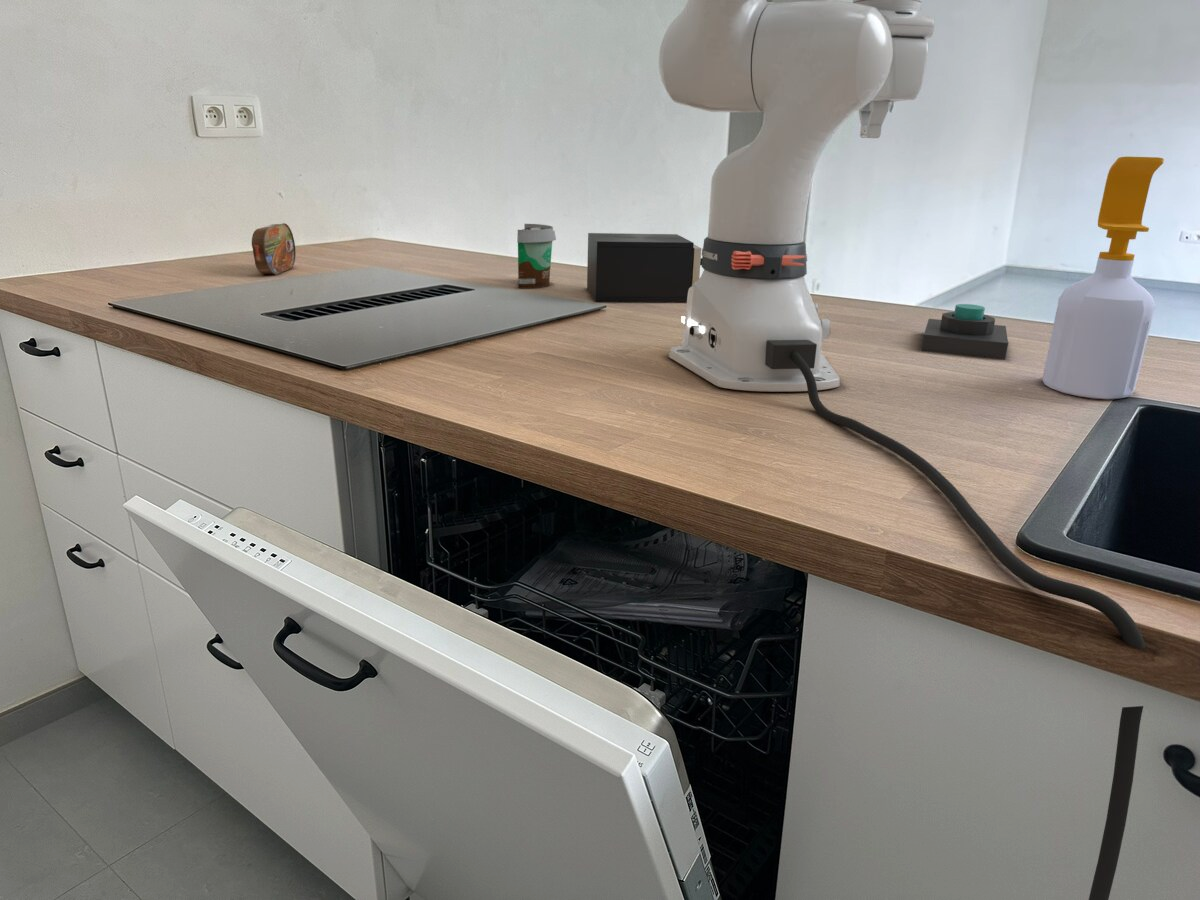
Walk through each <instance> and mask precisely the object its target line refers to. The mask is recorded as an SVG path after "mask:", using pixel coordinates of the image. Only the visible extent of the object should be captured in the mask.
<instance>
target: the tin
mask: <svg viewBox="0 0 1200 900" xmlns="http://www.w3.org/2000/svg"><path fill="white" fill-rule="evenodd" d="M251 248H252V254H253V258H254V265H255V267H256V269H257V271H258V272H259V274H262V275H276V276H277V275H279V274H281V273H284V272H286V271H288V270H291V269H292V268H293V267H294V266H295V262H296V257H297V256H296V242H295V238H294V234H293V231H292V229H291V228H290V225H289V224H288V223H285V222H283V223H275V224H269V225H267V226H266V225H265V226H263V227H260V228H257V229H255V230H254V231H253V234H252V237H251Z"/></svg>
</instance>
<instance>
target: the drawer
mask: <svg viewBox="0 0 1200 900" xmlns="http://www.w3.org/2000/svg"><path fill="white" fill-rule="evenodd" d="M701 266H702V248H701V247H699V246H698V245H697V244H694V246H693V262H692V278H691V287H692V285H693V284H695V283H696V282H697V281H698V280H699V278H700V277H701V276H700V275H701Z"/></svg>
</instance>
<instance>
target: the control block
mask: <svg viewBox="0 0 1200 900" xmlns="http://www.w3.org/2000/svg"><path fill="white" fill-rule="evenodd" d="M954 312H955V311H948V312H942V314H941V318H940V319H937V318H928V320H927V324H926V327H925V329H924V333H923V336H922V337H923V338H922V344H921V351H922V352H930V353H939V354H948V355H957V356H966V357H976V358H986V359H993V360H1004V361H1005V360H1006V357H1007V353H1008V347H1009V339H1008V331H1007V326H1006V325H999V324H996V318H995V317H993V316H990V315H987V314H984V316H983V320H969V319H961V318H956V317H954Z"/></svg>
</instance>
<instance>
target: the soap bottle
mask: <svg viewBox="0 0 1200 900" xmlns="http://www.w3.org/2000/svg"><path fill="white" fill-rule="evenodd" d="M1164 162H1165V160H1164V158H1163V157H1160V156H1159V157H1155V156H1121V157H1117V159H1116V160H1115V161H1114V162H1113V164H1112V165H1111V166H1110V168H1109V169H1108V173H1107V176H1106V179H1105V185H1104V190H1103V194H1102V199H1101V203H1100V208H1099V213H1098V216H1097V217H1098V218H1097V227H1098V228H1100V229H1102V230H1106V236H1105V238H1107V239H1110V244H1109V248H1108V251H1100V252H1099V254H1098V257H1097V261H1096V266H1095V270H1094V272H1093V273H1092V274H1091V275H1089V276H1087V277H1085V278H1083V279H1081V280H1079V281H1076V282H1074V283H1073V284H1071V285H1069V286H1068V287H1066V288H1064V290H1063V291H1062V292H1061V295H1060V296H1059V297H1058V301H1057V306H1056V311H1055V316H1054V321H1053V324H1052V330H1051V335H1050V340H1049V344H1048V349H1047V353H1046V358H1045V359H1046V360H1045V364H1044V367H1043V373H1042V382H1043V384H1044V386H1046V387H1048V388H1050V389H1051V390H1053V391H1057V392H1060V393H1062V394H1065V395H1070V396H1075V397H1078V398H1079V397H1080V398H1086V399H1093V400H1094V399H1095V400H1119V399H1120V400H1121V399H1126V398H1129V397H1131V396H1132V395H1133V394H1134V393H1135V391H1136V387H1137V383H1138V379H1139V375H1140V371H1141V366H1142V362H1143V359H1144V354H1145V351H1146V348H1147V347H1146V346H1147V342H1148V338H1149V334H1150V330H1151V327H1152V322H1153V318H1154V314H1155V311H1156V310H1155V309H1156V304H1155V299H1154V297H1153V296H1152V294H1151V293H1150V292H1149V291H1148V290H1147V289H1146V288H1145V287H1144V286H1143V285H1141V284H1139V283H1138V282H1137V281H1136V280H1135V279H1134V278H1133V277H1132V270H1133V267H1134V263H1135V256H1136V255H1135V254H1133V253H1129V252H1127V251H1128V248H1129V243H1130V240H1136V239H1137V234H1138V233H1139V232H1140V233H1148V232H1149V231H1150V227H1148V226H1145V225H1143V216H1144V211H1145V207H1146V203H1147V199H1148V195H1149V190H1150V186H1151V182H1152V178H1153V177H1154V174H1155V173H1156V171H1157V170H1158V169H1159V168H1160V167H1161V166H1162V165H1163V164H1164Z"/></svg>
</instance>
